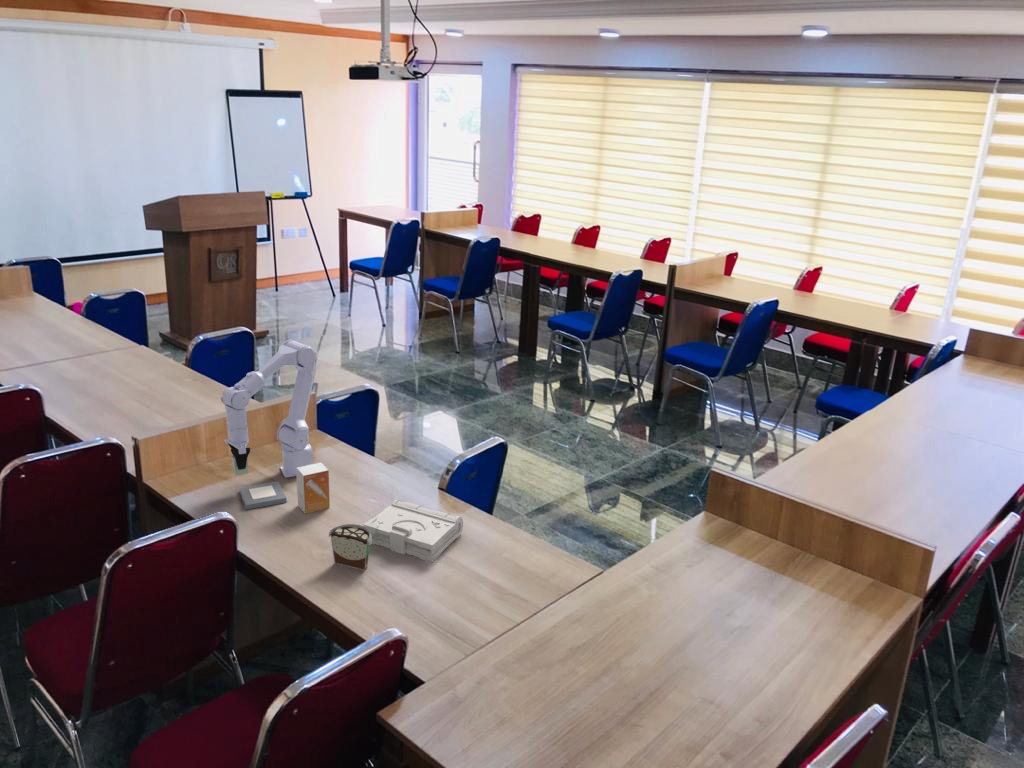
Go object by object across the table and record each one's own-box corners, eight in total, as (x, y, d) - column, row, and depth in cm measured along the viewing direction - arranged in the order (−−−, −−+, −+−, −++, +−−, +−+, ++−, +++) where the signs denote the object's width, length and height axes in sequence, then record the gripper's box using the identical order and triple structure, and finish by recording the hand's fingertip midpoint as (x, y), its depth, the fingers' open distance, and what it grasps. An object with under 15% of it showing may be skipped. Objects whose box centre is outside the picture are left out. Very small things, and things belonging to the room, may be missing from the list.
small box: (304, 514, 252) (302, 475, 248) (297, 505, 257) (295, 467, 253) (330, 508, 257) (329, 469, 252) (322, 499, 261) (321, 461, 257)
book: (385, 510, 257) (384, 488, 254) (465, 533, 246) (465, 510, 243) (347, 540, 241) (346, 517, 238) (432, 566, 230) (432, 542, 227)
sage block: (246, 467, 264) (245, 453, 263) (248, 473, 261) (247, 458, 259) (233, 470, 263) (231, 455, 261) (235, 475, 259) (233, 460, 258)
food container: (380, 560, 231) (380, 528, 227) (370, 572, 225) (369, 539, 222) (341, 550, 234) (340, 519, 231) (329, 562, 229) (328, 530, 225)
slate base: (278, 485, 269) (278, 480, 268) (286, 502, 259) (286, 497, 258) (239, 491, 264) (239, 487, 263) (246, 509, 254) (246, 504, 253)
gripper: (220, 418, 261) (223, 458, 266) (227, 436, 249) (230, 477, 253) (243, 415, 264) (246, 454, 269) (251, 433, 252) (254, 473, 256)
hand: (240, 465), depth 261 cm, fingers closed on sage block, 4 cm apart
